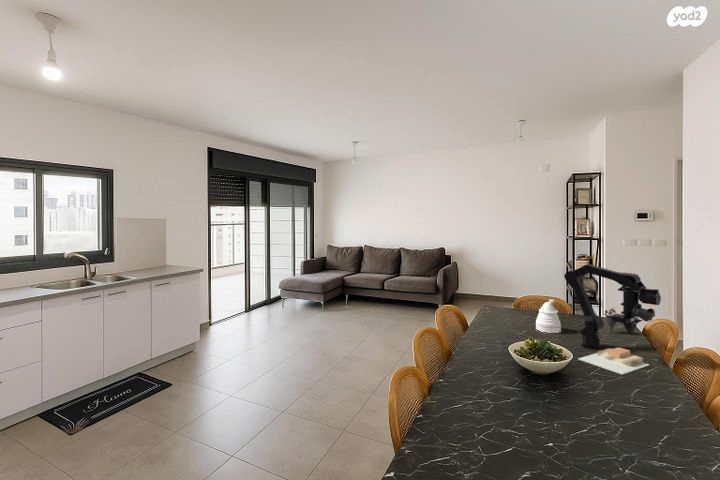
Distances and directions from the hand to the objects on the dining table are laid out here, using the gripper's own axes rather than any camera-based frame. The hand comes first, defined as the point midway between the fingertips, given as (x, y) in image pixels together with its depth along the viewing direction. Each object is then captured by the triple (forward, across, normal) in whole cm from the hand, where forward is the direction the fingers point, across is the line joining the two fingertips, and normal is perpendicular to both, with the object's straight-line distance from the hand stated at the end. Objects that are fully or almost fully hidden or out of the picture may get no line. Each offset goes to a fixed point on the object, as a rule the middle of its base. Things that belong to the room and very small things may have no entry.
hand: (630, 334), depth 166 cm
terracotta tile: (+8, -9, 0) cm, 12 cm away
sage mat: (+10, -14, 0) cm, 17 cm away
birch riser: (+10, -8, 0) cm, 13 cm away
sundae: (+11, +27, +25) cm, 38 cm away
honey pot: (+11, +2, +45) cm, 46 cm away
